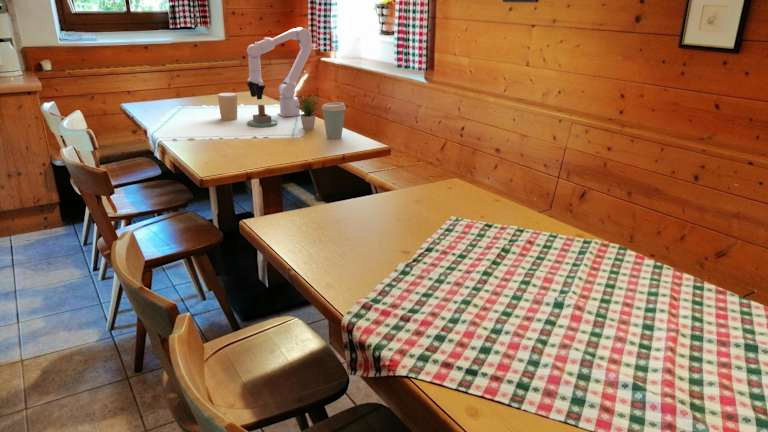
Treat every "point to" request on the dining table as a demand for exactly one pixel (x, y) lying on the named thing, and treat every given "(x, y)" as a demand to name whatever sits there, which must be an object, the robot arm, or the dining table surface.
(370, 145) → the dining table surface
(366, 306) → the dining table surface
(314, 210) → the dining table surface
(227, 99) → the coffee cup
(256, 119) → the candle dish
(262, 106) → the walnut peg
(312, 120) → the house plant
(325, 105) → the disposable coffee cup
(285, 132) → the dining table surface
